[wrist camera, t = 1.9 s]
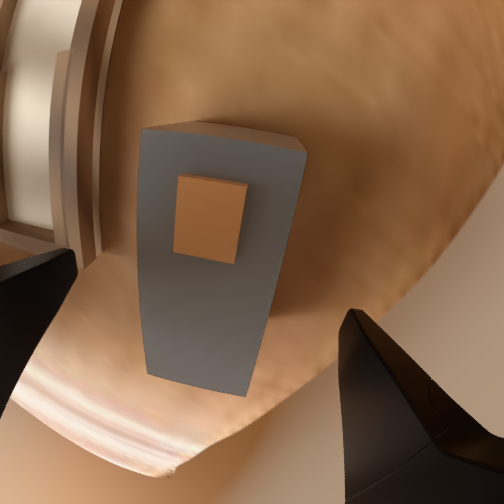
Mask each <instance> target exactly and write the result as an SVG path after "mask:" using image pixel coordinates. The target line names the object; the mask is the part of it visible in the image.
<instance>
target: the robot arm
mask: <svg viewBox="0 0 504 504" xmlns="http://www.w3.org/2000/svg"><path fill="white" fill-rule="evenodd" d="M77 274H78V268H77V262H76V255H75V252H74V250H72V249H69V248H60V249H56V250H53V251H49V252H46V253H42V254H39V255H36V256H32V257H29V258H26V259H22V260H19V261H16V262H13V263H10V264H6V265H3V266H0V418H1V416H2V413H3V411H4V409H5V407H6V404H7V402H8V400H9V398H10V396H11V394H12V392H13V390H14V388H15V386H16V384H17V382H18V380H19V378H20V376H21V374H22V372H23V370H24V368H25V366H26V365H27V363H28V361H29V359H30V357H31V356H32V354H33V352H34V350H35V349H36V347H37V345H38V343H39V342H40V340H41V338H42V337H43V335H44V333H45V332H46V330H47V328H48V327H49V325H50V324H51V322H52V320H53V319H54V317H55V316H56V314H57V312H58V311H59V309H60V307H61V305H62V303H63V302H64V300H65V298H66V296H67V294H68V292H69V290H70V289H71V287H72V285H73V283H74V281H75V280H76V278H77ZM338 363H339V364H338V378H339V391H340V402H341V415H342V429H343V446H344V469H345V500H346V501H345V504H504V438H501V437H498V436H495V435H493V434H491V433H490V432H488V431H487V430H486V429H485V428H484V427H483V426H482V425H481V424H479V423H478V422H477V421H476V420H475V419H474V418H473V417H472V416H470V415H469V414H468V413H467V412H466V411H465V410H464V409H463V408H461V407H460V406H459V405H458V404H457V403H456V402H455V401H454V400H453V399H452V398H451V397H450V396H449V395H448V394H446V392H445V391H443V389H442V388H441V387H439V385H437V383H436V382H435V381H434V380H431V377H429V375H428V374H427V373H426V372H425V371H424V370H423V369H422V368H421V367H420V366H419V365H418V364H417V363H416V362H415V361H414V360H413V359H412V358H411V357H410V356H409V355H408V354H407V353H406V352H405V351H404V350H403V349H402V348H401V347H400V346H399V345H398V344H397V343H396V342H395V341H394V340H393V339H392V338H391V337H390V336H389V335H388V334H387V333H386V332H385V331H384V330H382V328H380V327H379V326H378V325H377V324H376V323H375V322H374V321H373V320H372V319H371V318H370V317H369V316H368V315H367V314H366V313H365V312H364V311H363V310H360V309H353V308H351V309H349V310H348V312H347V314H346V316H345V318H344V320H343V323H342V325H341V327H340V330H339V353H338Z"/></svg>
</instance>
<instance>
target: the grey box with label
mask: <svg viewBox="0 0 504 504" xmlns="http://www.w3.org/2000/svg"><path fill="white" fill-rule="evenodd" d="M307 155H308V152H307V151H306V150H305V148H304V147H303V145H302V144H301V142H300V141H299V140H298V138H297V137H293V136H289V135H284V134H279V133H274V132H268V131H263V130H257V129H251V128H245V127H239V126H232V125H225V124H217V123H209V122H201V121H191V122H183V123H176V124H169V125H162V126H156V127H150V128H144V129H142V131H141V142H140V154H139V170H138V192H137V261H138V284H139V300H140V312H141V324H142V334H143V343H144V351H145V359H146V366H147V373H148V374H150V375H153V376H156V377H160V378H164V379H167V380H171V381H175V382H178V383H182V384H186V385H190V386H195V387H199V388H203V389H208V390H212V391H217V392H222V393H227V394H232V395H237V396H243V397H246V394H247V391H248V388H249V384H250V381H251V377H252V374H253V370H254V367H255V363H256V360H257V356H258V352H259V349H260V345H261V342H262V338H263V334H264V331H265V327H266V323H267V320H268V316H269V312H270V308H271V305H272V301H273V297H274V293H275V289H276V285H277V282H278V278H279V274H280V270H281V266H282V262H283V258H284V254H285V250H286V246H287V242H288V238H289V233H290V229H291V225H292V221H293V217H294V213H295V208H296V204H297V200H298V195H299V191H300V187H301V182H302V178H303V173H304V169H305V164H306V160H307Z"/></svg>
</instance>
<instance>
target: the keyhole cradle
mask: <svg viewBox="0 0 504 504" xmlns="http://www.w3.org/2000/svg"><path fill="white" fill-rule="evenodd" d="M122 2H123V0H0V243H2V244H5V245H8V246H11V247H14V248H16V249H19V250H22V251H25V252H28V253H32V254H35V255H39V254H42V253H46V252H49V251H53V250H56V249H60V248H69V249H72V250H74V252H75V255H76V262H77V268H80V269H85V268H86V267H87V266H88V265H89V264H90V263H91V262H92V261H94V260H95V259H96V258H97V257H98V256H99V255H100V254H101V253H102V245H101V230H100V207H99V160H100V138H101V124H102V112H103V103H104V94H105V86H106V79H107V72H108V66H109V60H110V55H111V49H112V44H113V39H114V35H115V30H116V26H117V22H118V18H119V14H120V10H121V6H122Z"/></svg>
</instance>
